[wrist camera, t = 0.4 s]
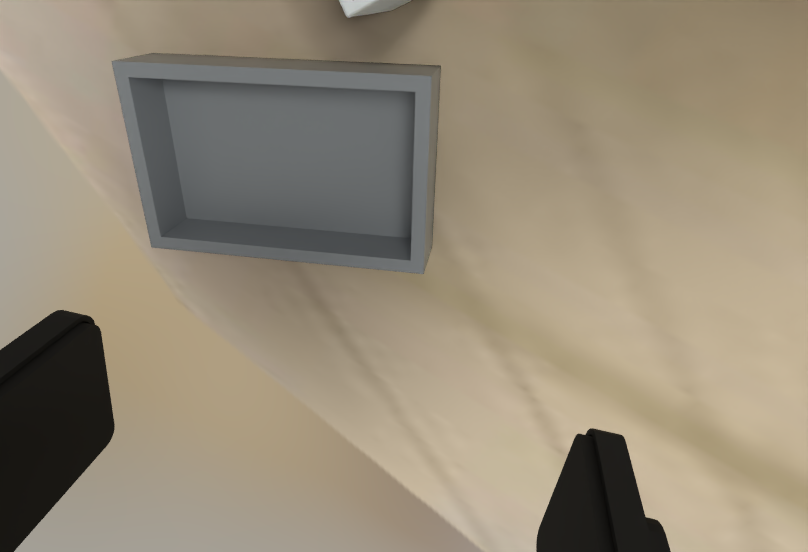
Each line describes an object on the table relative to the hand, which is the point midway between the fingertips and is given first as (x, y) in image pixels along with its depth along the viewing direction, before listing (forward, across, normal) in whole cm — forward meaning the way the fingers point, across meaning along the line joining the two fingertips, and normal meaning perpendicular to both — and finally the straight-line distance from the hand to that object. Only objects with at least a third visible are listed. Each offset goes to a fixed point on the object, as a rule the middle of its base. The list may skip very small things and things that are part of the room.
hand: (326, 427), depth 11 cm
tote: (+34, +12, +6) cm, 36 cm away
